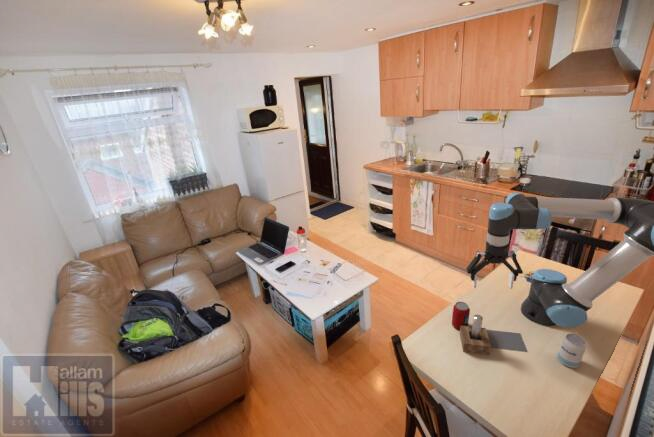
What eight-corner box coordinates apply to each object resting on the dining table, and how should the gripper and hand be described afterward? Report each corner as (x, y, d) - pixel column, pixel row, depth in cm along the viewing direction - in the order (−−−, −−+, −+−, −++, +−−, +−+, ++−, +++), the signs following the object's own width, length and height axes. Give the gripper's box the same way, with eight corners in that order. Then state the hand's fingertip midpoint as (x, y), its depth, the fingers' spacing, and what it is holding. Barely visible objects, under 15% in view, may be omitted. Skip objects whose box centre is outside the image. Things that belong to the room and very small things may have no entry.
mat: (520, 333, 130) (520, 333, 130) (527, 352, 121) (527, 352, 121) (484, 329, 133) (484, 329, 133) (489, 347, 125) (489, 347, 125)
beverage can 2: (552, 359, 117) (560, 337, 112) (562, 351, 120) (569, 329, 115) (573, 372, 112) (581, 349, 107) (582, 363, 115) (591, 341, 110)
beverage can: (469, 332, 133) (472, 311, 128) (453, 330, 135) (455, 310, 130) (465, 321, 139) (468, 301, 134) (450, 320, 141) (452, 300, 136)
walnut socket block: (484, 336, 130) (485, 328, 128) (489, 355, 122) (491, 346, 119) (459, 333, 133) (460, 325, 131) (462, 352, 124) (464, 343, 122)
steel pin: (478, 347, 125) (483, 320, 119) (470, 346, 126) (474, 319, 120) (477, 341, 128) (481, 315, 122) (469, 340, 129) (473, 314, 123)
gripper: (529, 236, 115) (522, 281, 124) (460, 238, 121) (457, 280, 129) (538, 246, 108) (529, 292, 117) (464, 247, 114) (461, 291, 123)
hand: (491, 286), depth 123 cm, fingers open, 13 cm apart
